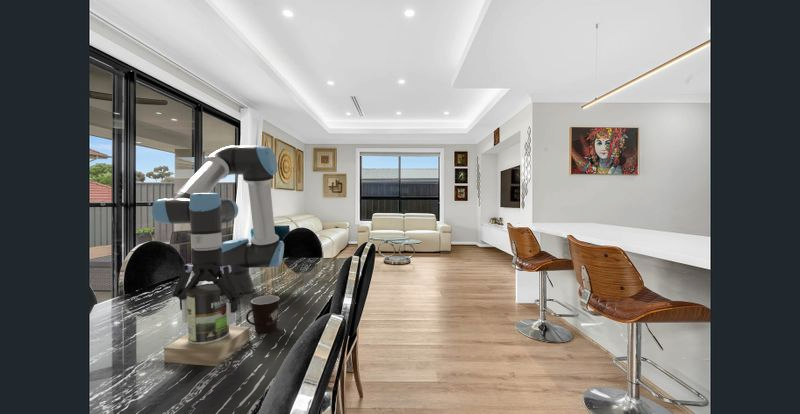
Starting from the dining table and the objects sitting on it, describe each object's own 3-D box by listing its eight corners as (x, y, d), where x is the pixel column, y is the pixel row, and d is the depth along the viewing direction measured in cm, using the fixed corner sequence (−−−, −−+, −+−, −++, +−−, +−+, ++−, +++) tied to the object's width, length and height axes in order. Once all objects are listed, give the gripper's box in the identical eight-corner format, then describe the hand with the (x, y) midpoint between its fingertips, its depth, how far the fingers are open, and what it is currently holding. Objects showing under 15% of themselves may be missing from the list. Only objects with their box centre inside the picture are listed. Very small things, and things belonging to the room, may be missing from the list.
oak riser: (204, 337, 103) (204, 324, 103) (249, 339, 101) (249, 327, 101) (164, 362, 88) (163, 347, 88) (216, 366, 86) (216, 351, 86)
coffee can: (237, 330, 98) (236, 283, 98) (211, 346, 88) (209, 294, 87) (207, 327, 100) (206, 281, 100) (178, 343, 90) (176, 292, 89)
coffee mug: (273, 322, 114) (272, 293, 114) (284, 329, 108) (284, 299, 108) (237, 332, 106) (237, 301, 106) (247, 341, 100) (247, 308, 100)
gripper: (155, 249, 91) (158, 325, 92) (240, 251, 88) (242, 330, 89) (177, 244, 98) (179, 314, 99) (255, 246, 95) (257, 319, 96)
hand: (209, 322), depth 94 cm, fingers open, 13 cm apart
